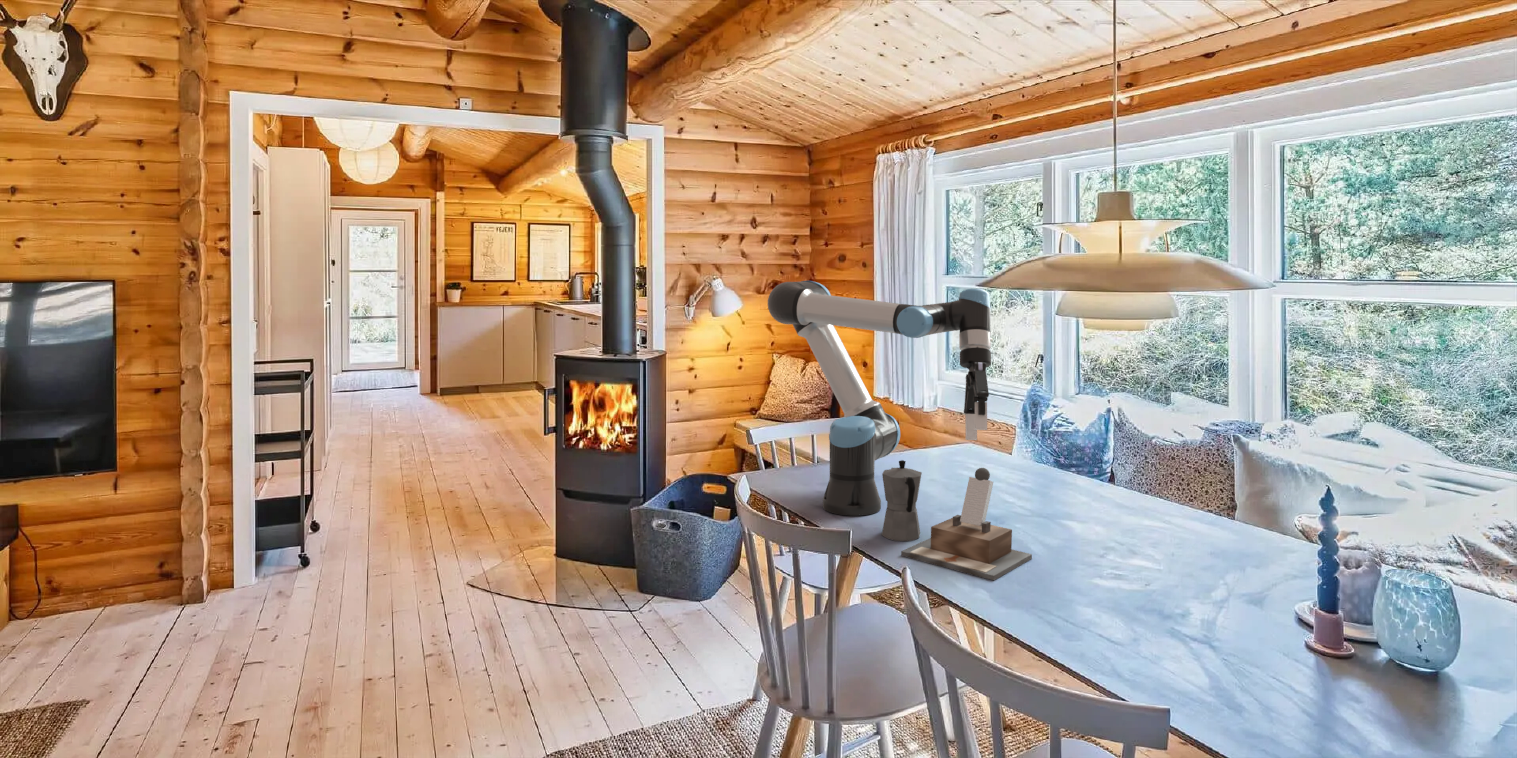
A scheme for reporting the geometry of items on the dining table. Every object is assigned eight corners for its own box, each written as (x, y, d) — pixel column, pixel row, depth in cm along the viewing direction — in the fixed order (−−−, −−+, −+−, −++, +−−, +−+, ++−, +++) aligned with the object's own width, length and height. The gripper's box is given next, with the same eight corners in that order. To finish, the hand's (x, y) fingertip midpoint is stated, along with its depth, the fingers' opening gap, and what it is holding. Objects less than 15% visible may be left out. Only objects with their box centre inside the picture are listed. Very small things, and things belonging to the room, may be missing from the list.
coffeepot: (874, 527, 201) (875, 454, 198) (912, 525, 202) (913, 453, 199) (891, 548, 186) (892, 470, 183) (932, 546, 187) (933, 468, 184)
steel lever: (958, 520, 181) (970, 464, 183) (964, 523, 183) (976, 467, 185) (978, 525, 178) (991, 468, 179) (985, 527, 180) (997, 471, 182)
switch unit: (901, 555, 181) (901, 520, 180) (942, 536, 193) (942, 503, 192) (993, 580, 166) (994, 542, 165) (1031, 558, 178) (1033, 522, 177)
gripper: (1000, 336, 193) (1002, 425, 188) (981, 364, 217) (982, 444, 212) (968, 335, 193) (968, 424, 188) (952, 363, 218) (952, 443, 212)
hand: (976, 435), depth 200 cm, fingers open, 13 cm apart
